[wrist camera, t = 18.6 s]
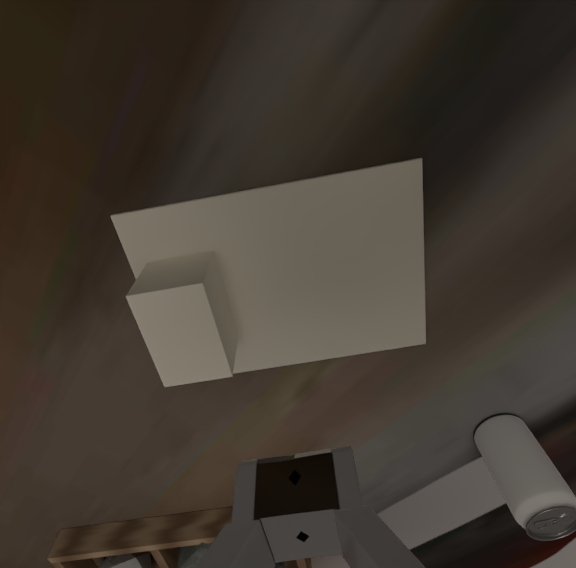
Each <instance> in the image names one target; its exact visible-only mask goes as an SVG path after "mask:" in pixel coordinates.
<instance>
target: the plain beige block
mask: <svg viewBox="0 0 576 568" xmlns="http://www.w3.org/2000/svg"><path fill="white" fill-rule="evenodd" d="M126 299H127V301H128V303H129V305H130V308H131V310H132V312H133V315H134V317H135V319H136V322H137V324H138V326H139V329H140V331H141V333H142V336H143V338H144V340H145V343H146V345H147V347H148V350H149V352H150V354H151V357H152V359H153V361H154V364H155V366H156V368H157V371H158V373H159V375H160V378H161V380H162V382H163V385H164V387H169V386H175V385H182V384H188V383H195V382H201V381H207V380H214V379H220V378H227V377H232V376H233V369H234V363H235V356H236V349H237V342H238V332H237V329H236V325H235V322H234V318H233V315H232V312H231V308H230V305H229V301H228V298H227V294H226V291H225V288H224V284H223V281H222V277H221V274H220V270H219V267H218V264H217V260H216V257H215V253H214V251H208V252H202V253H197V254H191V255H185V256H180V257H174V258H168V259H163V260H157V261H151V262H148V263H147V264H146V266H145V267H144V269H143V270H142V272H141V273H140V275H139V276H138V278H137V279H136V281H135V282H134V284H133V286H132V287H131V289H130V290H129V292H128V293H127V295H126Z"/></svg>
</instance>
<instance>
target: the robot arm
mask: <svg viewBox="0 0 576 568" xmlns="http://www.w3.org/2000/svg"><path fill="white" fill-rule="evenodd" d="M335 555H343V558H344V559H345V560H346V562H347V563H348V565H349V566H350V568H425V567H424V566H423V565H422V563H421V562H420V561H419V560H418V559H417V558H416V557H415V556H414V555H413V554H412V552H411V551H410V550H409V549H408V548H407V547H406V546H405V545H404V544H403V543H402V541H401V540H400V539H399V538H398V537H397V536H396V535H395V534H394V533H393V532H392V531H391V530H390V529H389V527H388V526H387V525H386V524H385V523H384V522H383V521H382V520H381V518H380V517H379V516H378V515H377V514H376V513H375V512H374V511H373V510H372V509H371V507H370V506H363V503H362V498H361V493H360V487H359V482H358V477H357V472H356V466H355V461H354V456H353V450H352V448H351V446H350V447H343V448H336V449H326V450H319V451H312V452H306V453H299V454H295V455H291V456H282V457H272V458H263V459H255V460H247V461H239V463H238V466H237V471H236V481H235V490H234V500H233V509H232V519H231V523H229V524H225V525H224V527H223V528H222V530H221V531H220V533H219V534H218V536H217V537H216V538H215V540H214V541H213V543H212V544H211V546H210V547H209V549H208V550H207V552H206V553H205V554H204V556H203V557H202V559H201V560H200V562H199V563H198V565H197V566H196V568H274V567H275V563H278V562H284V561H291V560H297V559H304V558H312V557H324V556H335Z"/></svg>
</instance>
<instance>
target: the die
mask: <svg viewBox="0 0 576 568" xmlns="http://www.w3.org/2000/svg"><path fill="white" fill-rule="evenodd" d="M98 568H152V565H151V556H150V552H148V551H144V552H136V553H129V554H121V555H113V556H107V558H106V559H105V560H104V561H103V562H102V564H101V565H100V566H99V567H98Z"/></svg>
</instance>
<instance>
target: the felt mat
mask: <svg viewBox="0 0 576 568" xmlns="http://www.w3.org/2000/svg"><path fill="white" fill-rule="evenodd" d="M111 219H112V221H113V224H114V226H115V229H116V231H117V234H118V236H119V239H120V241H121V243H122V246H123V248H124V251H125V253H126V256H127V258H128V261H129V263H130V266H131V268H132V271H133V273H134V276H135V278H136V279H137V278H138V276H139V275H140V273H141V272H142V270H143V269H144V267H145V266H146V264H147V263H148V262H151V261H157V260H163V259H168V258H174V257H180V256H185V255H191V254H197V253H202V252H208V251H214V253H215V257H216V260H217V264H218V267H219V270H220V274H221V277H222V281H223V284H224V288H225V291H226V294H227V298H228V301H229V305H230V308H231V312H232V315H233V318H234V322H235V325H236V329H237V332H238V342H237V349H236V356H235V363H234V369H233V374H234V373H240V372H246V371H253V370H259V369H266V368H272V367H279V366H285V365H292V364H298V363H305V362H311V361H318V360H324V359H331V358H337V357H344V356H350V355H357V354H363V353H369V352H376V351H382V350H389V349H395V348H402V347H408V346H415V345H421V344H426V319H425V271H424V222H423V173H422V158H417V159H411V160H406V161H400V162H395V163H390V164H384V165H379V166H373V167H368V168H362V169H357V170H352V171H346V172H341V173H335V174H330V175H324V176H319V177H314V178H308V179H303V180H297V181H292V182H286V183H281V184H276V185H270V186H265V187H259V188H254V189H248V190H243V191H238V192H232V193H227V194H221V195H216V196H210V197H205V198H200V199H194V200H189V201H183V202H178V203H172V204H167V205H162V206H156V207H151V208H145V209H140V210H134V211H129V212H124V213H118V214H113V215H111Z"/></svg>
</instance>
